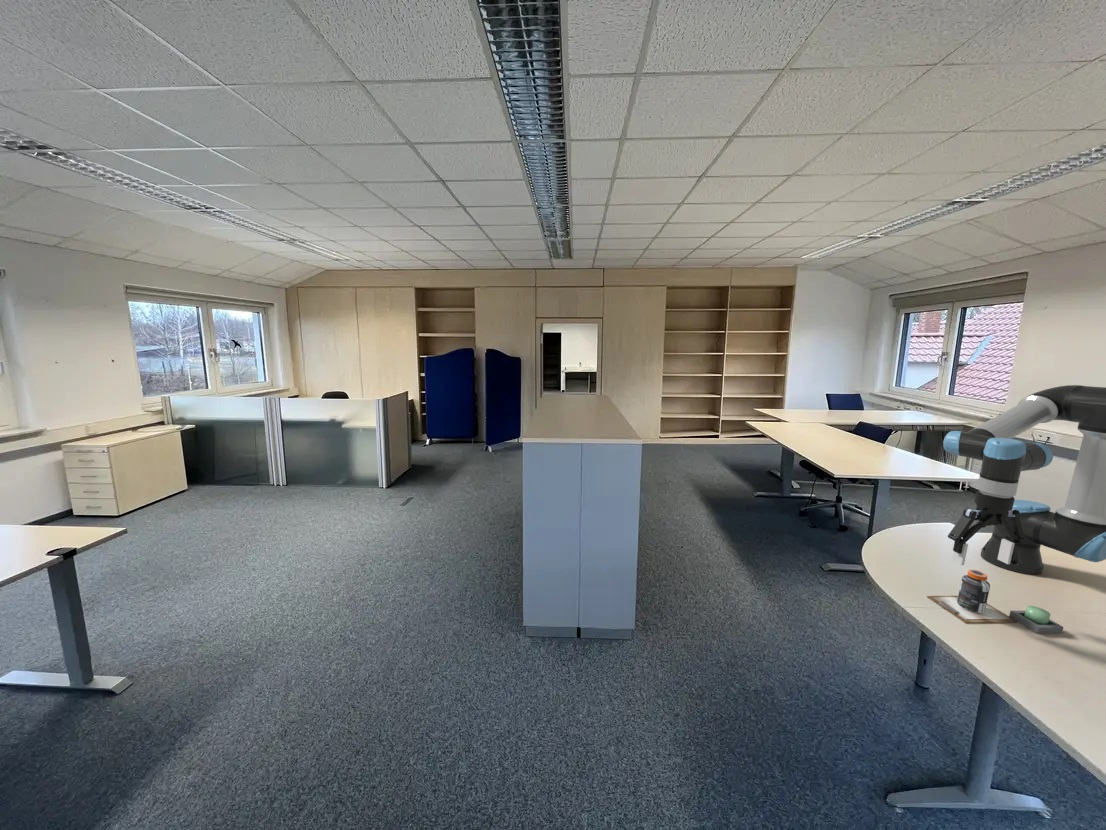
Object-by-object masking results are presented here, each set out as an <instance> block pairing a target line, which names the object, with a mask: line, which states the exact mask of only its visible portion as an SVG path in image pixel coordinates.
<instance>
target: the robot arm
mask: <svg viewBox="0 0 1106 830" xmlns="http://www.w3.org/2000/svg"><path fill="white" fill-rule="evenodd" d="M1052 421H1066V422H1070V423H1071V422H1072V423H1078V424H1077V430H1078V431H1079V432H1080V433H1081V434H1082V435H1083V436H1082V440H1081V443H1080V446H1079V451H1078V455H1077V458H1076V461H1075V467H1074V469H1073V474H1072V476H1071V477H1072V478H1071V482H1070V485H1069V488H1068V492H1067V496H1066V500H1065V503H1064V506H1061V507H1059V508H1056V509H1055V512H1053V511H1051V507H1050V506H1049V505H1048V504H1045V503H1042V502H1037V501H1032V500H1031V501H1030V500H1025V499H1024V500H1023V499H1015V496H1017V491H1018V487H1019V480H1020V476H1021V472H1025V471H1035V470H1039V469H1041V468H1046V467H1047V466H1049V465H1051V463H1052V462H1053V459H1054V454H1053V451H1052V450H1051V449H1050V448H1049V447H1048V445H1047V446H1046V445H1045V444H1043V443H1039V442H1031V441H1027V442H1025V441H1021V440H1019V439H1014V438H1016V437H1017V436H1019V435H1021V434H1022V433H1024V432H1026V431H1028V430H1030V429H1031V428H1033V427H1035V426H1037V425H1039V424H1046V423H1050V422H1052ZM942 444H943V450H944V451H945V452H947V453H948V454H952V455H956V456H958V457H964V458H968V459H973V460H977V461H982V462H981V468H980V472H979V477H978V482H977V487H976V488H977V490H976V492H975V495H974V503H975V505H976V508H975V509H971V508H968V507H966V508H964V509H963V511H962V512H963V513H962V515H961V516H960V518H959V519H958V521H957V522H956V523H955V525H954V527H953V528H952V529H950V532H949V533H948V535H947V538H948V539H950V540H952V541H953V542H954V543H953V547H952V551H953V555H952V559H951V560H952V561H953V562H955V563H956V564H958V565H960V566H965V563H966V562H965V561H966V559H967V553H968V547H969V544H968V543H967V542H968V541H969V540H970V539H972V537H974V535H976V534H977V533H978V532H979V531H980V530H981V529H982V528H986V527H988V526H989V527H990V526H993V529H992V534H991V537H990V538H989V539H988V541H987V542H986V543H985V544H984V546H983V547H981V551H980V557H981V558H982V559H984V561H986V562H988V563H990V564H992V565H994V566H997V567H999V568H1002V569H1006V570H1008V571H1011V572H1016V573H1020V574H1026V575H1040V574H1043V570H1044V568H1045V566H1044V563H1043V558H1042V553H1041V546H1043V547H1046V548H1049V549H1052V550H1056V551H1057V552H1061V553H1064V554H1067V555H1069V556H1072V557H1074V558H1077V559H1082V560H1085V561H1088V562H1092V563H1100V562H1103V561H1105V560H1106V387H1105V386H1104V387H1102V386H1101V387H1100V386H1090V385H1089V386H1087V385H1080V384H1073V385H1071V384H1070V385H1060V386H1054V387H1051V388H1047V389H1043V390H1039V391H1037V392H1034V393H1032V394H1029V395H1026V396H1025V397H1023V398H1022V399H1020V400H1019V402H1017V404H1016V406H1014V407H1012V408H1009V409H1008V410H1006V411H1004V412H1002V413H1000V414H998V415H996V416H995V417H993V418H991V419H989V420H987V421H985V422H983V423H981V424H980V425H978V426H976V427H974V428H971V429H970V430H968V431H963V430H951V431H949V432H948V433H947V434H946V435H945V436H944V439H943V443H942Z"/></svg>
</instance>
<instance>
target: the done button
mask: <svg viewBox="0 0 1106 830" xmlns="http://www.w3.org/2000/svg"><path fill="white" fill-rule="evenodd" d="M1025 610H1026V611H1025ZM1025 610H1024V611H1025V615H1024V617H1026V618H1027V619H1029V620H1031V621H1032V622H1034V623H1036V624H1038V625H1048V622H1049V619H1051V613H1050V612H1049V611H1047V610H1046V609H1044V608H1041V607H1039V606H1035V605H1026V607H1025Z"/></svg>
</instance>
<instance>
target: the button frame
mask: <svg viewBox="0 0 1106 830" xmlns="http://www.w3.org/2000/svg"><path fill="white" fill-rule="evenodd" d="M1025 611H1026V609H1024V610H1010V611H1009V615H1008V616H1009V617H1011V618H1012V619H1014V620H1016V621H1017V623H1018V624H1020V625H1022V626H1023V627H1024V628H1027V629H1029V631H1031V632H1033V633H1035V634H1037V635H1044V634H1045V635H1049V634H1050V635H1051V634H1052V635H1054V634H1055V635H1056V634H1059V635H1060V634H1063V632H1064V626H1062V625H1061V624H1059V623H1057V622H1055V621H1053V620H1052V619H1051V618H1049V622H1048V625H1038V624H1036V623H1034V622H1032V621H1031V620H1029V619H1027V618H1026V617H1024V615H1025Z"/></svg>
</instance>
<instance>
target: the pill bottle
mask: <svg viewBox="0 0 1106 830" xmlns="http://www.w3.org/2000/svg"><path fill="white" fill-rule="evenodd" d="M987 580H988V575H987V574H986V573H985V572H983V571H980V570H977V569H968V571H967V574H965V575H963V576H962V577H961V581H960V585H959V590H958V594H957V596H958V599H957V603H958V605H959V606H961V607H962V608H964V609H966V610H968V611H971V612H975V613H983V612H985V608H986V604H988V597H989V594H990V590H991V584H990V583H989V581H987Z"/></svg>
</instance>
